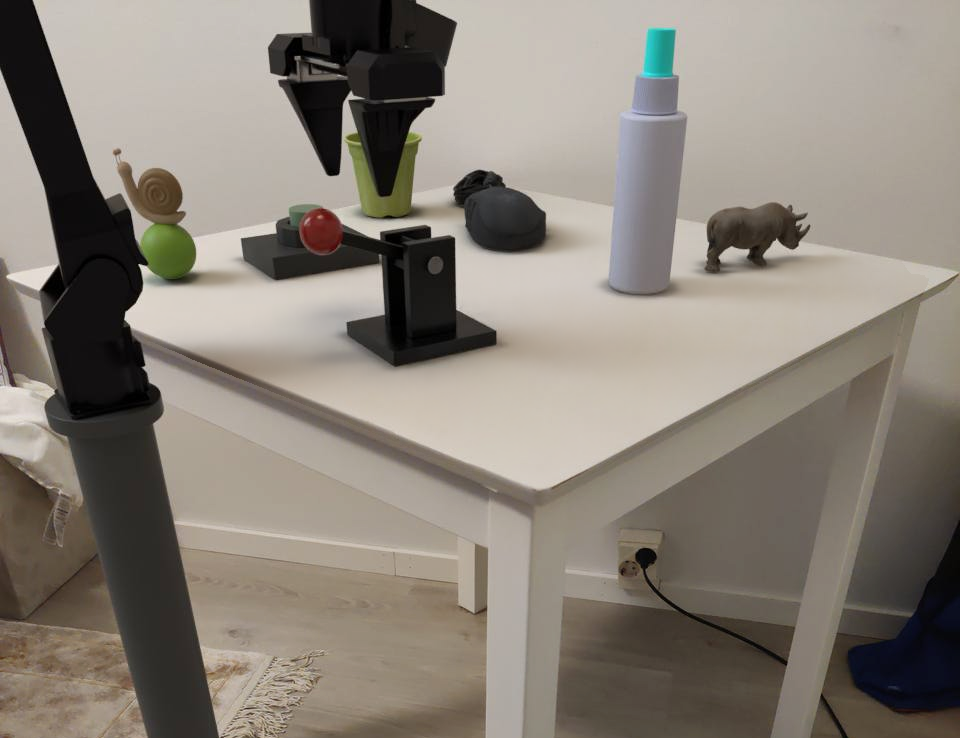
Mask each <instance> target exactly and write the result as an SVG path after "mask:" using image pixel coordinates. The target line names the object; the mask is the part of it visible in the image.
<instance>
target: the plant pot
mask: <svg viewBox="0 0 960 738" xmlns="http://www.w3.org/2000/svg"><path fill="white" fill-rule="evenodd" d="M422 139H423V137H422V135H421V134H419V133H416V132H413V131H409V133H408V136H407V139H406V142H405V145H404V149H403V153H402V157H401V161H400V165H399V169H398V173H397V176H396V180H395V184H394V188H393V192H392V195H391V196H388V197H379V196H378V195H377V192H376V189H375V187H374V184H373V181H372V178H371V175H370V172H369V168H368V165H367V162H366V159H365V155H364V152H363V149H362V145H361V142H360V139H359V135H358V132H357V131H355V132H350V133H348V134H346V135H344V136H343V141H344V143H346V144H347V148H348V153H349V155H350V157H351V159H352V165H353V170H354V175H355V180H356V181H355V182H356V185H357V186H356V187H357V191H358V192H357V193H358V197H359V202H360V207H361V211H362V214H363V215H365V216H367V217H374V218H376V219H377V218H378V219H380V218H381V219H382V218H385V217H387V216H392V217H393V218H400V217H404V216H408V215H409V214H410V213H411V210H412V201H413V189H414V188H413V187H414V176H415V168H416V167H415V166H416V156H417V154H418V152H419V145H420V143H421V142H422Z"/></svg>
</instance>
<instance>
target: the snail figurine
mask: <svg viewBox="0 0 960 738" xmlns="http://www.w3.org/2000/svg"><path fill="white" fill-rule="evenodd" d="M121 154H122V150H121V148H119V147H117V148H115V149H113V150H112V155H113V156H114V157H115V160H116V161H115V162H116V164H117V165H116V169H117V174H118V175H119V177H120V178H121V181H122V186H123V187H124V190H125V192H126V195H127V197H128V199H129V202H130V203H131V205H132V207H133V209H134V210H135V211H136V212H137V214H138V215H139V216H141V217H142V218H144V219H145V220H147V221H149V222H151V223H153V224H151V225H150V226H149V227H148V228H146V230H145V231H144V233H143V234H142V236H141V239H140V242H139V245H140V247H141V249H142V251H143V253H144V255H145V257H146V259H147V261H148V266H146V268H147V269H148V270H149V271H150V272H151V273H152V274H154V275H156V276H157V277H159V278H162V279H165V280H176V279H181V278H183V277H185V276H186V275H188V274H189V273H190V272H191V271H192V270H193V268H194V266H195V264H196V261H197V245H196V243H195V241H194V238H193V237H192V235H191V234H190V233H189V232H188V230H186V229H185V228H184V226H181V225H180V223H181V222H182V221H183V220H184V219H185V217H186V215H187V212H186V211H185V210H180V211H178V210H179V209H180V207H181V206H182V203H183V199H184V197H183V196H184V195H183V193H184V192H183V190H182V189H183V188H182V186H181V184H180V181H178V179H177V178H176V176H174V174H172V172H170V171H168V170H167V169H165V168H161V167H152V168H148V169H147V170H145V171H144V172H143V173H142V174H141V175H140V177H139V179H138V182H137V185H136V181H135V180H134V177H133V168H132V166H131V164H129V162H127V161H122V160H121V157H120V155H121ZM117 156H118V158H117ZM118 159H119V162H118Z"/></svg>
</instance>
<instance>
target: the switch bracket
mask: <svg viewBox="0 0 960 738" xmlns="http://www.w3.org/2000/svg"><path fill="white" fill-rule="evenodd" d="M401 236H405V237H409V238H412V239H416V240H415V241H408V242H403V260H404V270H403V269H401V268H399V267H397V266H395V265H394V264H395V260H396V258H392V257H388V256H384V255H380V257H381V258H380V259H381V275H382V292H383V294H382V295H383V308H384V314H381V315H376V316H370V317H365V318H359V319H355V320H350V321H346V323H345V324H346V335H347V337H349V338H350V339H352V340H354V341H355V342H357V343H358V344H360V345H362V346H363V347H365V348H366V349H368V350H369V351H370V352H372V353H374V354H375V355H376V356H378V357H380V358H381V359H383V360H384V361H386V362H387V363H389V364H390V365H391V366H393V367H399V366H403V365H408V364H412V363H417V362H422V361H426V360H431V359H436V358H439V357H440V358H441V357H445V356H449V355H454V354H459V353H463V352H467V351H472V350H478V349H481V348H486V347H490V346H494V345H497V341H498V335H497V334H498V332H497V330H496V329H494V328H492V327H490V326H489V325H486V324H485V323H483V322H481V321H479V320H477V319H475V318H473V317H472V316H469V315H467V314H466V313H463V312H461V310H459V309H457V265H456V259H457V258H456V237H455V236H453V235H450V234H447V235H441V236H434V237H432V227H431V226H430V225H427V224H421V225H414V226H408V227H401V228H394V229H388V230H381V231H379V240H383V241H386V242H390V243H394V244H398V245H399V244H400V240H401Z"/></svg>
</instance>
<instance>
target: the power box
mask: <svg viewBox="0 0 960 738" xmlns="http://www.w3.org/2000/svg"><path fill="white" fill-rule="evenodd" d="M342 226H343V230H345V231H349V232H352V233H356V234H360V235H364V236H367V235H366V234H364V233H362V232H361V231H359V230H356V229H354V228H353V227H350V226H347V225H346V224H343V223H342ZM240 244H241V251H242V258H243V260H244V261H245V262H247V263H248V264H250V265H252V266H253V267H255V268H256V269H257V270H259V271H261V272H262V273H264V274H265V275H267V276H268V277H271V279H273V280H275V281H276V280H282V279H289V278H295V277H301V276H306V275H312V274H319V273H325V272H330V271H331V272H332V271H337V270H343V269H350V268H355V267H362V266H368V265H375V264H378V263H380V262H381V261H380V254H376V253H372V252H368V251H364V250H360V249H357V248H353V247H349V246H345V245H340V246H339V248H338V249H337V250H336V251H334V252H333V253H331V254H328V255H317V254H314V253H312V252H311V251H309V250H308V249H307V248H306V247H305V246H304V244H303V243H302V241H301V238H300V234H299V227H296V226H291V225H290V216H286V217H284V218H280V219H278V220H276V222H275V232H274V233H269V234H262V235H261V234H260V235H254V236H253V235H252V236H247V237H241V238H240Z"/></svg>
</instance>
